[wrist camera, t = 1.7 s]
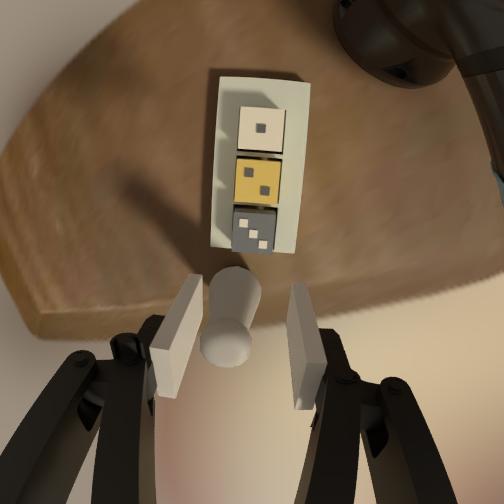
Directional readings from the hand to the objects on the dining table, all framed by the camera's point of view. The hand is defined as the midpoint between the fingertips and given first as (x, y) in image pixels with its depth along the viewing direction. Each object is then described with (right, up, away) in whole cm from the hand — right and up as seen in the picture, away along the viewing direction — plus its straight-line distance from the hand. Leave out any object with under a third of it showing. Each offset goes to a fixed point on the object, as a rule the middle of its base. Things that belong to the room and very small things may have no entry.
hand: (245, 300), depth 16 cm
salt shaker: (-1, -1, +18) cm, 18 cm away
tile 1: (+1, +14, +11) cm, 18 cm away
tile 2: (+1, +10, +12) cm, 16 cm away
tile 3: (+1, +5, +14) cm, 15 cm away
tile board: (+1, +12, +13) cm, 18 cm away
